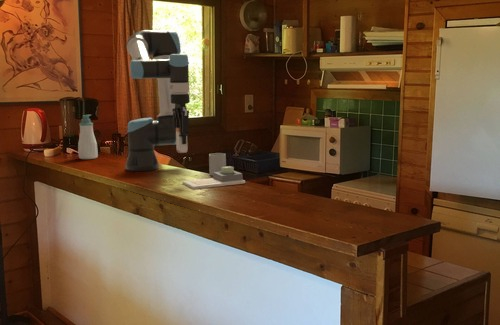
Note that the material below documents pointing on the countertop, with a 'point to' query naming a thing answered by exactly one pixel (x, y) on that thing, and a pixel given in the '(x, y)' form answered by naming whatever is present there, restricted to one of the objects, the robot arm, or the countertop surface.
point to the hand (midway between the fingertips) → (182, 151)
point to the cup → (216, 162)
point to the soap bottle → (87, 140)
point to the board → (216, 180)
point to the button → (227, 170)
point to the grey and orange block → (178, 140)
